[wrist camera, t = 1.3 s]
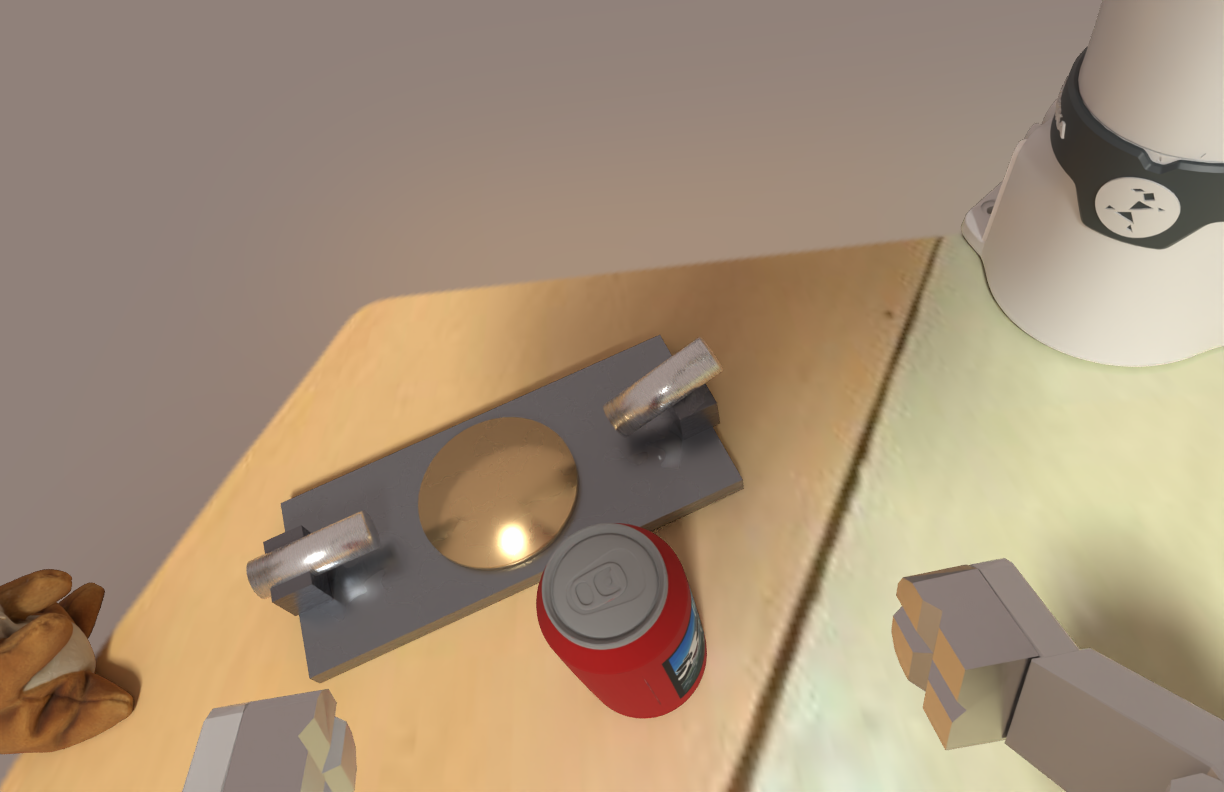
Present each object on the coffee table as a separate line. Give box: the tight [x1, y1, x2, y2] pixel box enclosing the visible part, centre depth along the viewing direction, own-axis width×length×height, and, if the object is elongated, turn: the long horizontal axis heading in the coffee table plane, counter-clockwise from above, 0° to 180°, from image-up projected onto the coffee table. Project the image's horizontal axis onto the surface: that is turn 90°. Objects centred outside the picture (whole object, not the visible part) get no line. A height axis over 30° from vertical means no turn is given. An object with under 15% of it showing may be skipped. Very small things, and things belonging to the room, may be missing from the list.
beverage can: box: [536, 523, 707, 718], centre depth 38 cm, size 7×7×12 cm
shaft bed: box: [247, 335, 744, 683], centre depth 47 cm, size 30×12×7 cm, turn 112°
